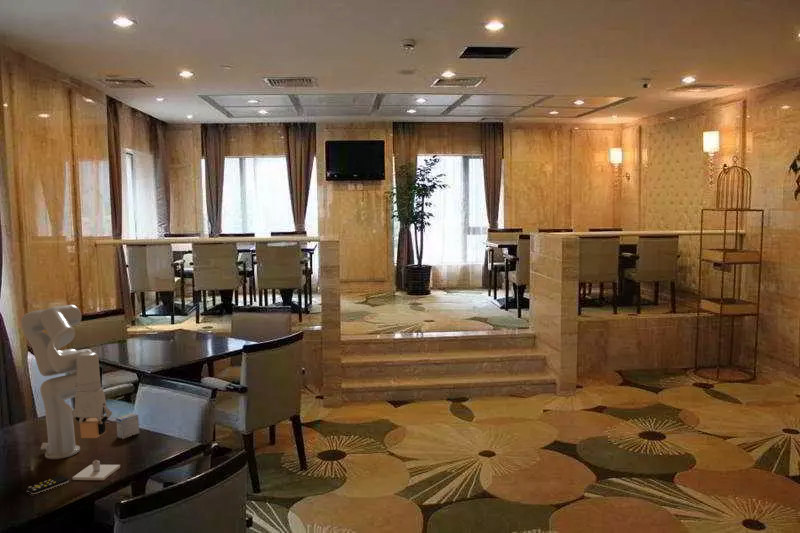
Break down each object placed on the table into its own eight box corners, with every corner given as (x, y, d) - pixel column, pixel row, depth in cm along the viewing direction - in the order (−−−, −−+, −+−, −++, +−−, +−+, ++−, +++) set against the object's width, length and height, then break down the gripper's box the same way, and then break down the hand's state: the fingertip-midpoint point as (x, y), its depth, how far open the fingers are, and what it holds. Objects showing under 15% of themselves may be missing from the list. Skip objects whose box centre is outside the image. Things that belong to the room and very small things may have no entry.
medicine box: (134, 431, 273) (132, 412, 273) (139, 433, 271) (138, 414, 270) (117, 437, 267) (115, 418, 266) (122, 439, 265) (121, 419, 264)
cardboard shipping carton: (81, 437, 226) (79, 423, 226) (90, 431, 232) (89, 417, 232) (96, 437, 226) (95, 423, 225) (105, 431, 231) (104, 417, 231)
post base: (72, 479, 226) (71, 466, 225) (90, 467, 237) (89, 454, 236) (103, 480, 224) (102, 466, 224) (120, 467, 235) (119, 454, 235)
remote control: (70, 483, 224) (70, 477, 224) (33, 497, 214) (32, 491, 214) (62, 479, 228) (61, 473, 227) (25, 492, 217) (24, 487, 217)
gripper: (61, 389, 224) (65, 437, 226) (105, 389, 222) (109, 437, 224) (73, 383, 232) (78, 429, 233) (117, 383, 230) (121, 429, 232)
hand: (93, 432), depth 229 cm, fingers closed on cardboard shipping carton, 5 cm apart
